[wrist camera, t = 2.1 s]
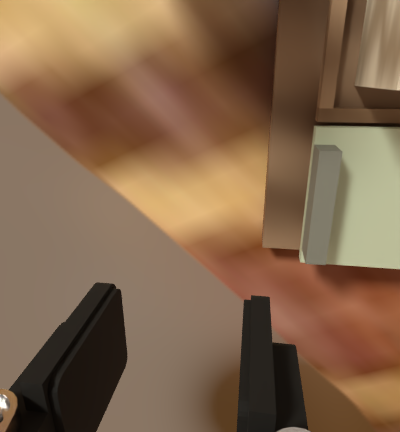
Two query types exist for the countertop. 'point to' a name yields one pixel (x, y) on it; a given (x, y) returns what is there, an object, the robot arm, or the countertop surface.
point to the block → (380, 46)
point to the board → (314, 102)
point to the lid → (353, 198)
